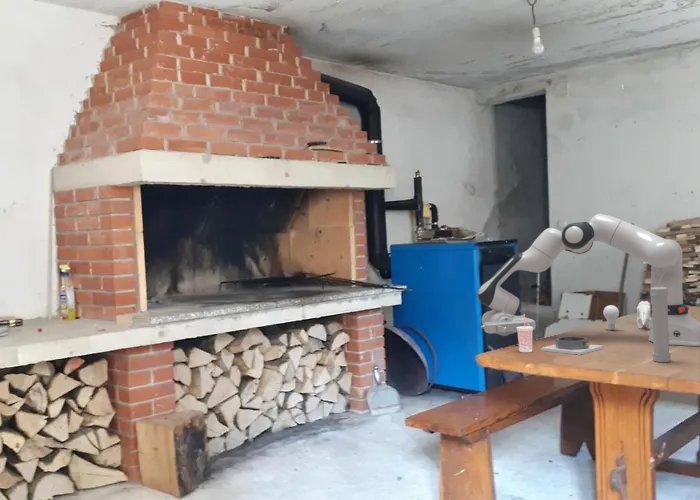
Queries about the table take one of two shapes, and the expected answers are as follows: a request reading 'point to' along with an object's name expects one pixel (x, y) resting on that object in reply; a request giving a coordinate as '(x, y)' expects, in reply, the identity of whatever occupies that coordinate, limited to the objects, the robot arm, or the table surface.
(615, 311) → the lightbulb
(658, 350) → the pipe
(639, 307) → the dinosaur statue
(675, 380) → the table surface
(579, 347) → the collar
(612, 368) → the table surface
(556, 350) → the base plate
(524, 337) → the beverage cup
